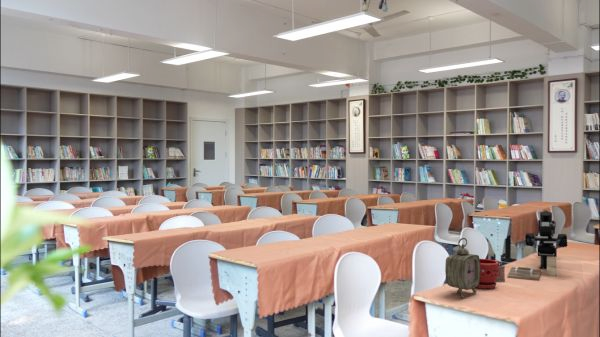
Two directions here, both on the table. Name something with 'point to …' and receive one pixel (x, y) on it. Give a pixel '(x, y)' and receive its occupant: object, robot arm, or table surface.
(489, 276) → the plant pot
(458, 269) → the tabletop clock
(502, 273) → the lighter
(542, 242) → the robot arm
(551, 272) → the peg
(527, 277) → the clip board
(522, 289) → the table surface
